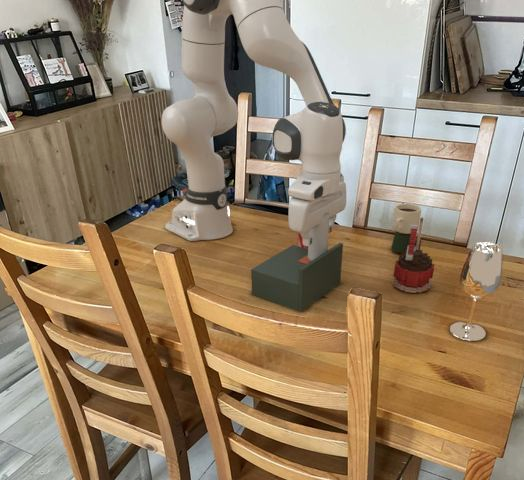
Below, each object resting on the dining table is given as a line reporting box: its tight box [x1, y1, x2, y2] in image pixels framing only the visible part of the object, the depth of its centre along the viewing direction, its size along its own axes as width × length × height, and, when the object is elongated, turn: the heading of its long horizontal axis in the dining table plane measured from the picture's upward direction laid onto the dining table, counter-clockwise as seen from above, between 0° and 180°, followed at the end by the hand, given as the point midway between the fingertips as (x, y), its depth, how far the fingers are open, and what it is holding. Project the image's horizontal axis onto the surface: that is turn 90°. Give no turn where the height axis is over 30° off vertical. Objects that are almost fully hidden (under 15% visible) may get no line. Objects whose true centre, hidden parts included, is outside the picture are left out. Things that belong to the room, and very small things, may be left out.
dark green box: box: [250, 242, 344, 313], centre depth 130 cm, size 15×18×11 cm
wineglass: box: [449, 241, 503, 342], centre depth 109 cm, size 8×8×20 cm
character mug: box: [390, 203, 422, 254], centre depth 147 cm, size 11×7×13 cm, turn 138°
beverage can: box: [308, 213, 330, 261], centre depth 127 cm, size 5×5×12 cm
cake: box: [392, 216, 435, 294], centre depth 128 cm, size 11×9×18 cm
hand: (317, 238), depth 127 cm, fingers open, 8 cm apart
